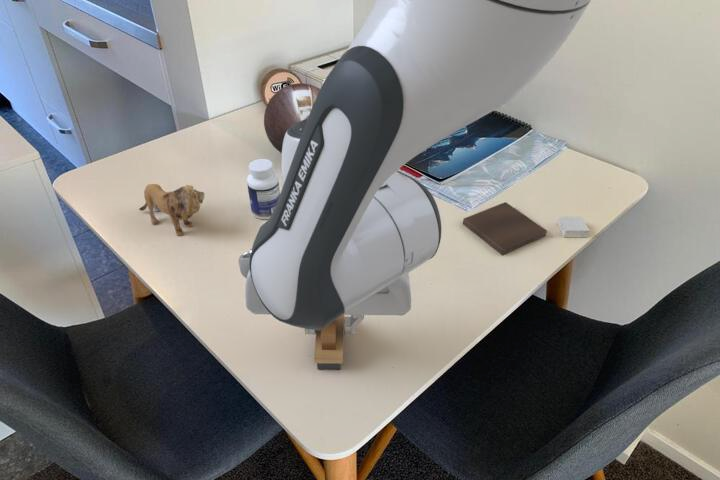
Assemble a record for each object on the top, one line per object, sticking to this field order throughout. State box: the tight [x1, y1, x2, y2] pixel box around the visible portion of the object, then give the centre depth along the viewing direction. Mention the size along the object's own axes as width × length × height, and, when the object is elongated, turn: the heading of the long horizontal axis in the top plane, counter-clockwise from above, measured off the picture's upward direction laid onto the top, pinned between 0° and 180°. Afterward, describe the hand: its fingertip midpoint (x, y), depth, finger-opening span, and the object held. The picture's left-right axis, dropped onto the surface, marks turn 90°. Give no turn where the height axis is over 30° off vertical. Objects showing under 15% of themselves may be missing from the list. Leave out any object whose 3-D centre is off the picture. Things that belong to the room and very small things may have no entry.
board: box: [462, 201, 548, 256], centre depth 90 cm, size 10×10×1 cm
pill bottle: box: [246, 158, 281, 220], centre depth 91 cm, size 5×5×10 cm
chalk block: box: [556, 216, 590, 238], centre depth 90 cm, size 4×4×2 cm
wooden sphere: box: [263, 82, 321, 154], centre depth 106 cm, size 15×15×15 cm
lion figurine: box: [138, 183, 205, 237], centre depth 88 cm, size 15×5×9 cm, turn 65°
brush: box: [313, 315, 345, 371], centre depth 68 cm, size 8×4×6 cm, turn 0°
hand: (330, 330), depth 68 cm, fingers open, 4 cm apart
